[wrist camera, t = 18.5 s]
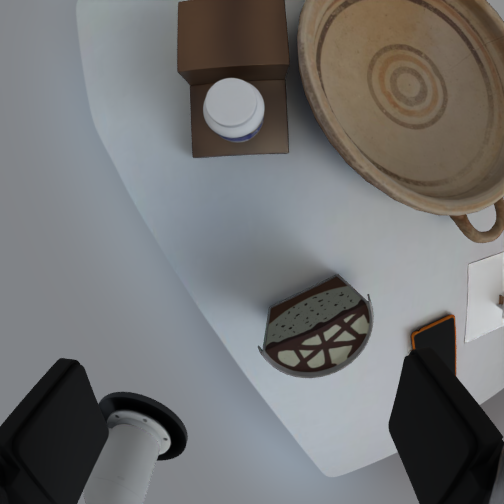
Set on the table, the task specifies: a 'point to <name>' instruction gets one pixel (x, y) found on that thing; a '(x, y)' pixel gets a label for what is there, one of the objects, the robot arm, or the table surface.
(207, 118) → the pill bottle
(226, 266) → the table surface
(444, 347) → the smartphone
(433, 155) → the ceramic bowl
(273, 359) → the food container
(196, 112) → the step shelf
